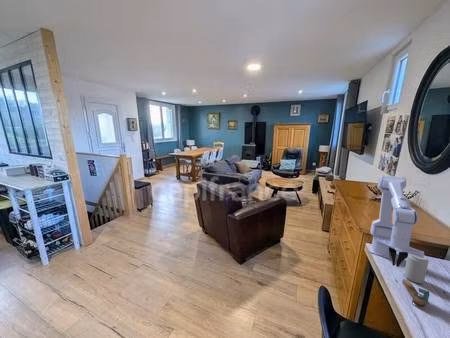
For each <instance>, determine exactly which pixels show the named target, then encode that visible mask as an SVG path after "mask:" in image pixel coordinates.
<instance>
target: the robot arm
mask: <svg viewBox="0 0 450 338" xmlns="http://www.w3.org/2000/svg"><path fill="white" fill-rule="evenodd" d="M406 186H407V178H406V177H405V176H393V175H392V176H391V175H383V174H382V175H381V174H380V175H379V177H378V179H377V190H380V191H381V192H380V193H381V198H380V206H379V215H378V219H374V220H373V221H372V222H371V226H370V235H371V236H372V242H371V244H370V250H369V252H370V253H371V254H374V255H377V256H381V257H383V258H386V259H390V257H391V260H392V261H391V262H392V263H391V264H392V265H391V266H394V267H395V266H396V267H397V268H399V267H400V266H401V264H402V262H403V261H404V260H407V257H408V254H409V253H410V254H413V255H416V256H419V257H421V258H423V257H424V256H425V251H424V250H423V251H422V250H419V249H416V248H413V247H412V246H410V243H411V236H412V232H413V226H414V225H416V224H417V223H418V213H417V210H415V209H414V208H412V206H411V203H410V201H409V198H408V197H406V196H405V195H404V189H406ZM392 209H393V210H392ZM391 218H392V220H391ZM397 252H398V254H397ZM397 255H398V256H397ZM396 257H397V258H396ZM396 259H397V260H396Z"/></svg>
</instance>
